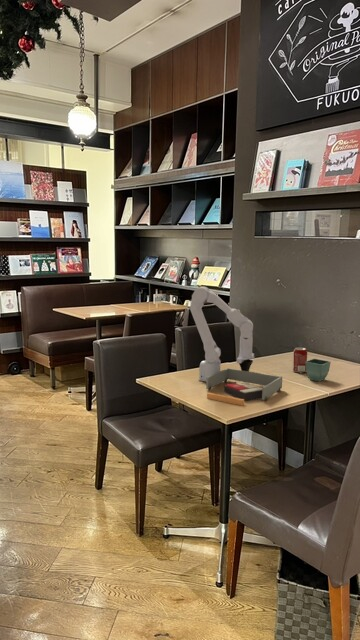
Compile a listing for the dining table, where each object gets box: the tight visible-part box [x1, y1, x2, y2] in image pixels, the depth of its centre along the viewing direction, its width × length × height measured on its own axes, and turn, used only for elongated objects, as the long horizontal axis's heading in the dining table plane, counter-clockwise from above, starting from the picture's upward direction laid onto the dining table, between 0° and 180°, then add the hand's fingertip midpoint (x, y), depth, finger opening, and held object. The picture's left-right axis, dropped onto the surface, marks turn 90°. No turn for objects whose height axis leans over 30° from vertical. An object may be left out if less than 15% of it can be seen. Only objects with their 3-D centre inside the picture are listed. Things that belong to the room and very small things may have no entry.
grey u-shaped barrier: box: [205, 367, 283, 402], centre depth 200 cm, size 27×20×6 cm
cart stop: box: [206, 392, 245, 406], centre depth 186 cm, size 16×2×2 cm, turn 57°
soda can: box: [292, 346, 308, 374], centre depth 233 cm, size 7×7×12 cm
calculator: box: [223, 381, 262, 402], centre depth 195 cm, size 11×4×15 cm
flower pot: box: [305, 358, 331, 382], centre depth 218 cm, size 9×9×9 cm
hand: (245, 375), depth 212 cm, fingers closed
